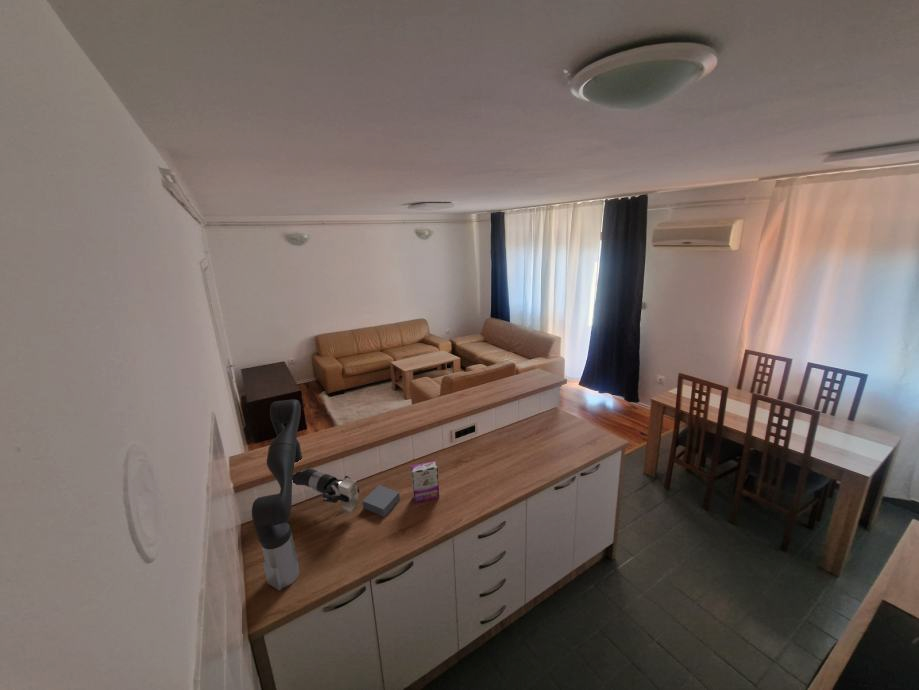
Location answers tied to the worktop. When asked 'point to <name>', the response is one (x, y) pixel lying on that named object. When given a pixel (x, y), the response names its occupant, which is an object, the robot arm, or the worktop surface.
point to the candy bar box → (425, 481)
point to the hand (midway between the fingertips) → (353, 495)
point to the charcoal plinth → (381, 500)
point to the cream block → (349, 494)
